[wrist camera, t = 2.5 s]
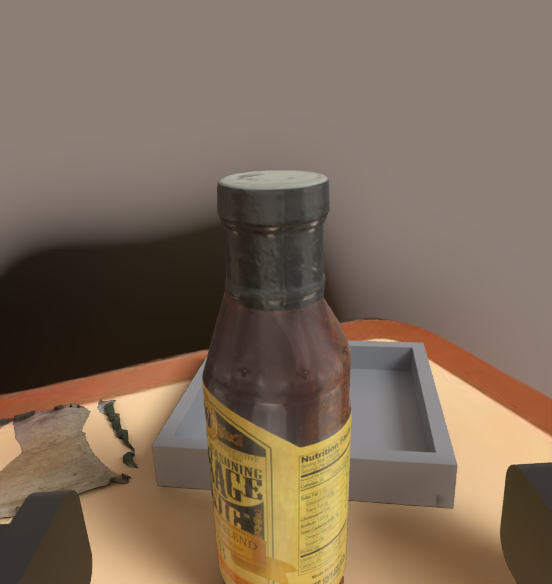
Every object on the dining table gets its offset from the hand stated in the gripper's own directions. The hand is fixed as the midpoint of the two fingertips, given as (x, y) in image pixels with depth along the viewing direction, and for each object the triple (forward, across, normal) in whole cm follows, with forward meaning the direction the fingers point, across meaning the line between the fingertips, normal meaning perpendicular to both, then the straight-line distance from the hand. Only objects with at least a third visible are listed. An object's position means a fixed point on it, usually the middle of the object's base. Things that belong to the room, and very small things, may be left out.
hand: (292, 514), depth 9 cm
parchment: (+23, +18, +15) cm, 32 cm away
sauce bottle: (+12, 0, +15) cm, 19 cm away
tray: (+25, -2, +14) cm, 29 cm away
